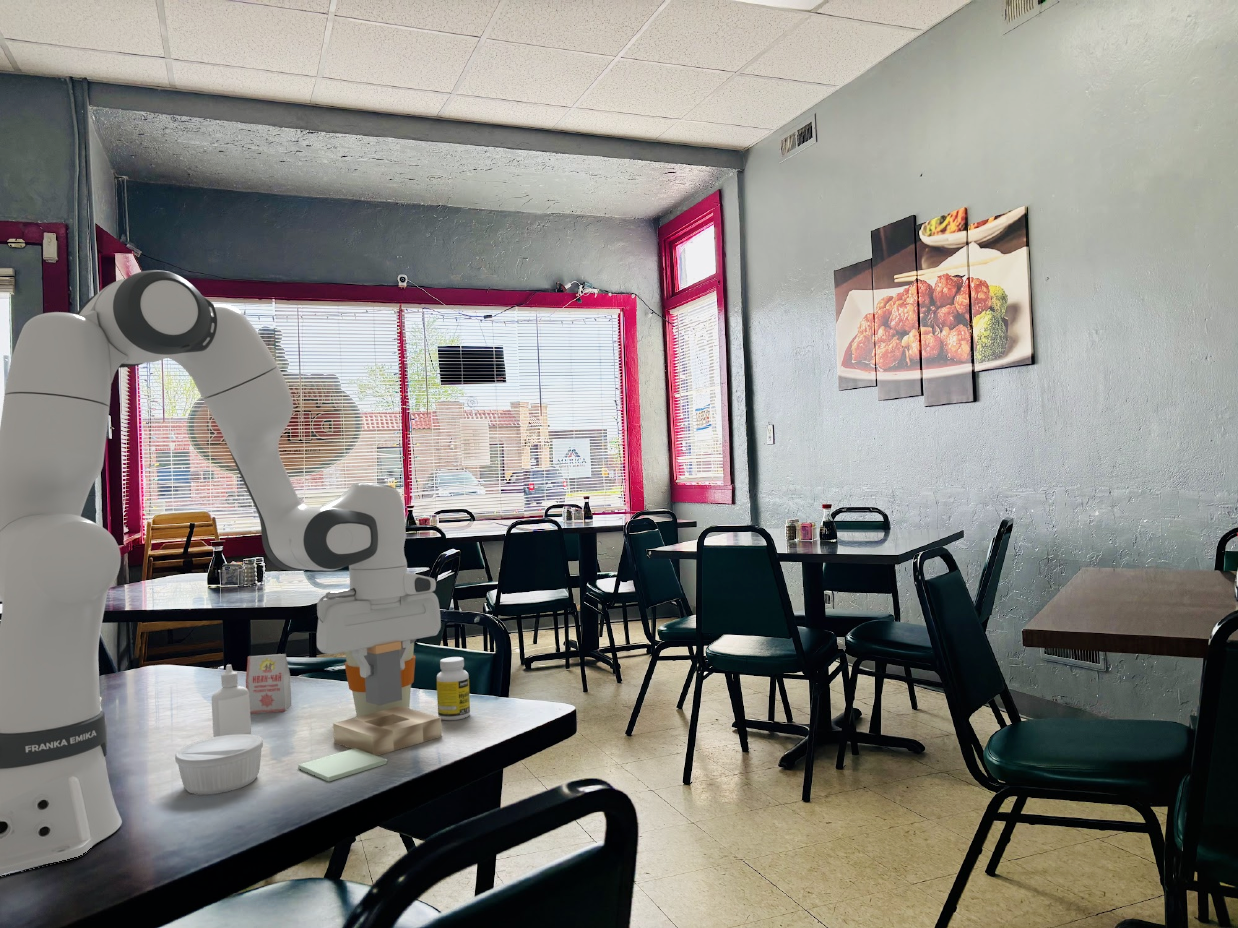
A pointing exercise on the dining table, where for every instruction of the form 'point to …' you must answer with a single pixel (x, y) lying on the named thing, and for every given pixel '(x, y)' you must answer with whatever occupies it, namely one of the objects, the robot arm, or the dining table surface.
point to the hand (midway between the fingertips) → (382, 673)
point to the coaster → (342, 764)
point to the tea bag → (268, 683)
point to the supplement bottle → (453, 689)
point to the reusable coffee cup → (359, 689)
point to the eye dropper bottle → (231, 707)
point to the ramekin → (220, 763)
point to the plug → (384, 674)
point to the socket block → (387, 730)
